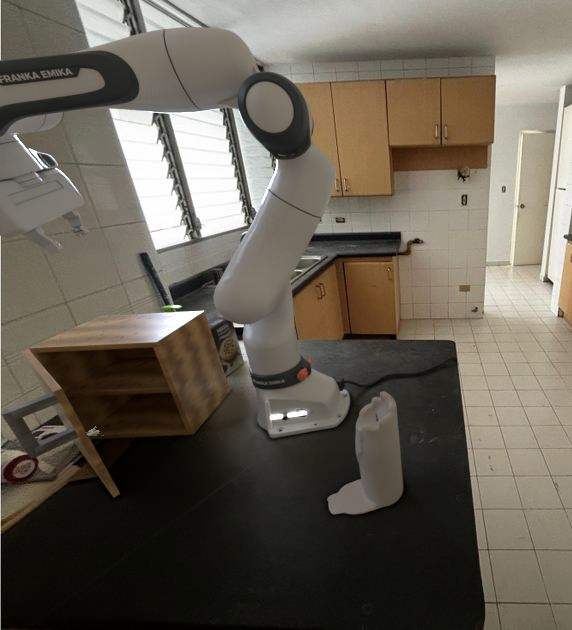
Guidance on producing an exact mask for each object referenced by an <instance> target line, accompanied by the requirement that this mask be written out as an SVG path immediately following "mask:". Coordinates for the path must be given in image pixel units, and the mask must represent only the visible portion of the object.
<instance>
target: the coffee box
mask: <svg viewBox="0 0 572 630" xmlns="http://www.w3.org/2000/svg"><path fill="white" fill-rule="evenodd" d="M207 320H208V323H209V326H210V329H211V333H212V336H213V339H214V342H215V345H216V348H217V351H218V354H219V358H220V361H221V364H222V367H223V370H224V373H225V376H226V377H227V376H229V375H230V374H231V373H233V372H234V371H235V370H236V369H239V367H240V366H242V365H243V364H244V363H245V360H244V357H243V353H242V350H241V346H240V343H239V339H238V336H237V332H236V328H235V325H234V323H233V322H231V321H229V320H227V319H225V318H224V317H223V316H214V317H212V318H210V319H207Z"/></svg>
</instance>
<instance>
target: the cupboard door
mask: <svg viewBox="0 0 572 630" xmlns="http://www.w3.org/2000/svg"><path fill="white" fill-rule="evenodd" d="M21 354H22V355H23V357H24V359H25V360H26V362H27V365H28V366H29V368H30V369H31V371H32V373H33V374H34V376H35V378H36V379H37V381H38V383H39V385H40V386H41V388H42V390H43V391H44V393H45V395H41V396H39V397H35V398H34V399H32V400H28V401H26V402H22V403H20V404H18V405H14V406H12V407H9V408H7V409H4V410H3V411H2V412H0V414H1V417H2V418H3V419H4V420H5V422H6V424H7V426H8V427H9V428H10V430H11V431H12V433H13V434H14V436H15V437H16V438H17V440H18V442H19V443H20V445H21V447H22V448H23V449H24V451H25V452H26V454H27V455H28V457H29V458H30V459H34V458H38V457H39V456H42V455H44V454H46V453H48V452H50V451H52V450H54V449H57V448H59V447H61V446H63V445H65V444H67V443H69V442H71V441H72V442H73V443H74V442H75V443H74V444H75V446H76V447H77V446H78V447H77V449H78V450H79V452H80V453H81V454H82V455H83V457H84V458H85V460H86V461H87V464H89V465H90V467H91V468H92V470H93V471H94V472H95V474H96V475H97V476H98V478H99V480H100V481H101V482H102V484H103V486H105V488H106V489H107V491H108V492H109V494H110V495H111V496H112V498H116V497H118V496H119V495H120V494H121V493H120V490H119V489H118V487H117V485H116V483H115V482H114V479H113V478H112V477H111V475H110V473H109V471H108V469H107V467H106V466H105V463H104V462H103V460H102V458H101V456H100V454H99V452H98V450H97V449H96V447H95V446H94V443H93V442H92V439H90V438H89V437H88V435H87V433H86V431H85V429H84V428H83V426H82V424H81V422H80V420H79V419H78V417H77V415H76V413H75V411H74V410H73V408H72V406H71V404H70V402H69V401H68V399H67V397H66V395H65V393H64V392H63V390H62V388H61V387H60V386H59V385H58V384H57V382H56V381H55V380H54V379H53V378H52V377H51V375H50V374H49V373H48V372H47V371H46V370H45V368H44V367H43V366H42V365H41V364H40V363H39V361H38V360H37V359H36V358H35V357H34V356H33V354H32V353H31V351H30V350H29V349H25V350H22V351H21ZM49 407H53V409H54V411H55V412H56V414H57V416H58V417H59V419H60V421H61V422H62V424H63V426H64V427H65V429H64V430H62V431H60V432H58V433H56V434H53V435H51V436H49V437H47V438H44V439H42V440H40V441H38V440H37V438H36V436H35V435H34V434H33V432H32V430H31V429H30V427H29V426H28V424H27V422H26V421H25V419H24V418H25V417H28V416H29V415H33V414H35V413H37V412H40V411H42V410H45V409H47V408H49Z"/></svg>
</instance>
